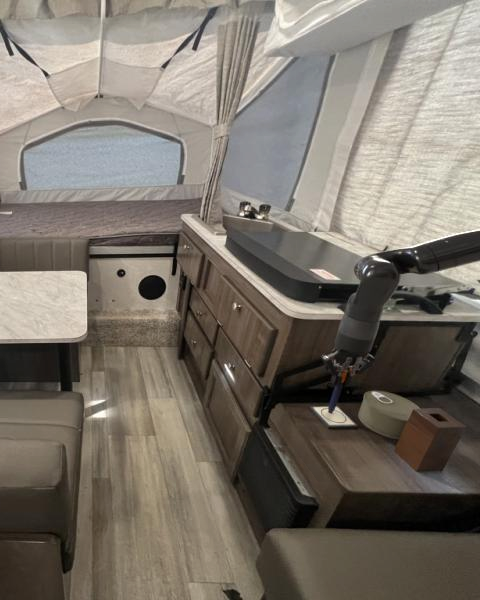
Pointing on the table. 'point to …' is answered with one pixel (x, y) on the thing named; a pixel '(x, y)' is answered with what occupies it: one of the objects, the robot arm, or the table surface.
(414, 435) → the pen stand
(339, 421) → the drawing pad
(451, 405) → the table surface
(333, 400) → the marker
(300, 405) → the table surface
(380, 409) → the can
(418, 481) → the table surface
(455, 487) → the table surface
